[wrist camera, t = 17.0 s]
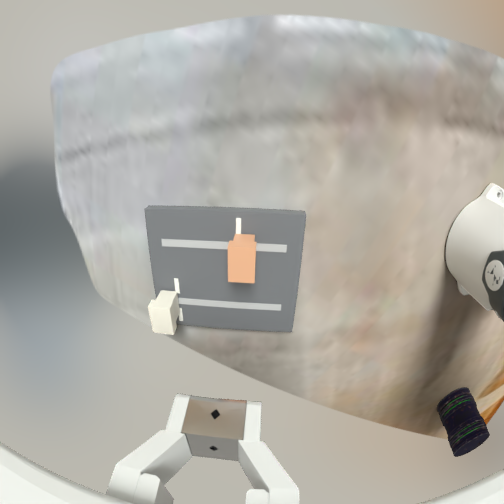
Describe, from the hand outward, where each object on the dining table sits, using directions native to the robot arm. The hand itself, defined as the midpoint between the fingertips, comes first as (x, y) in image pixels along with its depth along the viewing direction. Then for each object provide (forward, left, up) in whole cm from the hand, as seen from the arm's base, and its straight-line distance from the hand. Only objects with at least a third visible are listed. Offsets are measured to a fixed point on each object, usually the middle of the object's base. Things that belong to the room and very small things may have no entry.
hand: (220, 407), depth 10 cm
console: (+4, +11, -29) cm, 31 cm away
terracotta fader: (+1, +6, -27) cm, 28 cm away
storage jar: (-51, +46, -29) cm, 75 cm away
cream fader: (+12, +16, -27) cm, 33 cm away
